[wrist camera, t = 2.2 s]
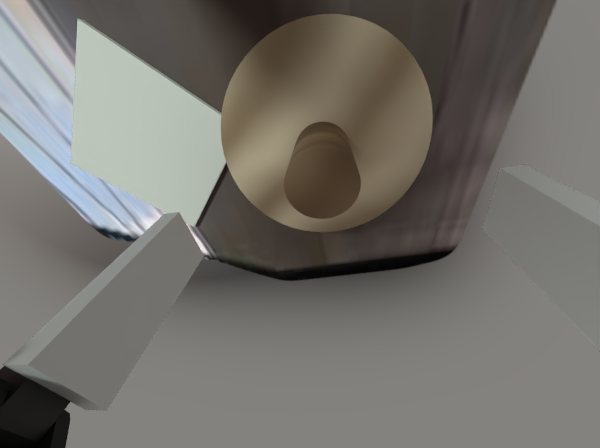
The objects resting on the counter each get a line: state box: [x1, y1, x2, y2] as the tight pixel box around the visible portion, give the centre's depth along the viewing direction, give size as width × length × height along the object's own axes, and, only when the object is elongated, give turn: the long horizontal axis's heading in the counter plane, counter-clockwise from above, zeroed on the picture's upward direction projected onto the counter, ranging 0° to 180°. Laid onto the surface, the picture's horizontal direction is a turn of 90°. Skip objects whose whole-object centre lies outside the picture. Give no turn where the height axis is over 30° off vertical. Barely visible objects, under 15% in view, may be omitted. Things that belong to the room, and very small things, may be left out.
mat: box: [71, 19, 227, 227], centre depth 25 cm, size 15×15×1 cm
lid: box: [221, 14, 433, 232], centre depth 15 cm, size 15×15×7 cm
